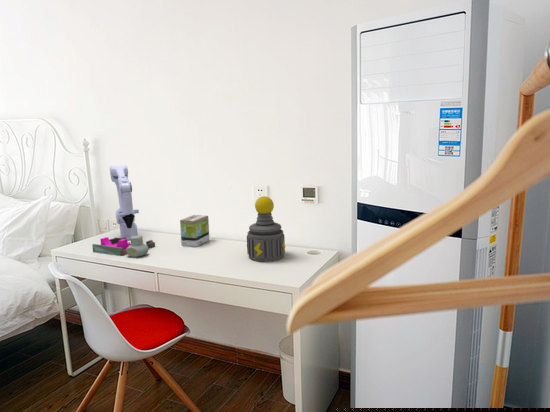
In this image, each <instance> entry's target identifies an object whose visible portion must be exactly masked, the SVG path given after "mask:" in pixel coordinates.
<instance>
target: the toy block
mask: <svg viewBox="0 0 550 412" xmlns="http://www.w3.org/2000/svg"><path fill="white" fill-rule="evenodd" d="M109 240H110V239H109V236H105V237H102V238H100V241H99V242H100V245H106V246H113V247H121V248H123V250H124V249H127V248H128V246H130V245H131V242H129V240H128V239H121V240H119V241H118V244H114V245H112V244H111V242H110V241H109Z"/></svg>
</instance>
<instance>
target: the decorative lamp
mask: <svg viewBox="0 0 550 412" xmlns="http://www.w3.org/2000/svg"><path fill="white" fill-rule="evenodd" d="M274 205H275V204H274V201H273V200H272V198H271V197H269V196H266V195H265V196H259V197H258V198H257V199H256V201H255V202H254V208H255V210H256V212H257V217H256V221H255V223H252V224H250V225H249V227H248V229H249V230H248V231H247V235H246V247H247V248H246V249H247V250H246V253H247V255H248V259H250V260H251V261H254V262H260V263H263V262H267V263H269V262H275V261H278V260H280V259H282V258H284V257H285V253H286V243H285V241H286V239H285V234H284V230H283V229H282V224H280V223H278V222H276V221H274V220H273V219H274V217H273V215H272V212H273V211H274V208H275V207H274ZM268 261H269V262H268Z"/></svg>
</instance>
